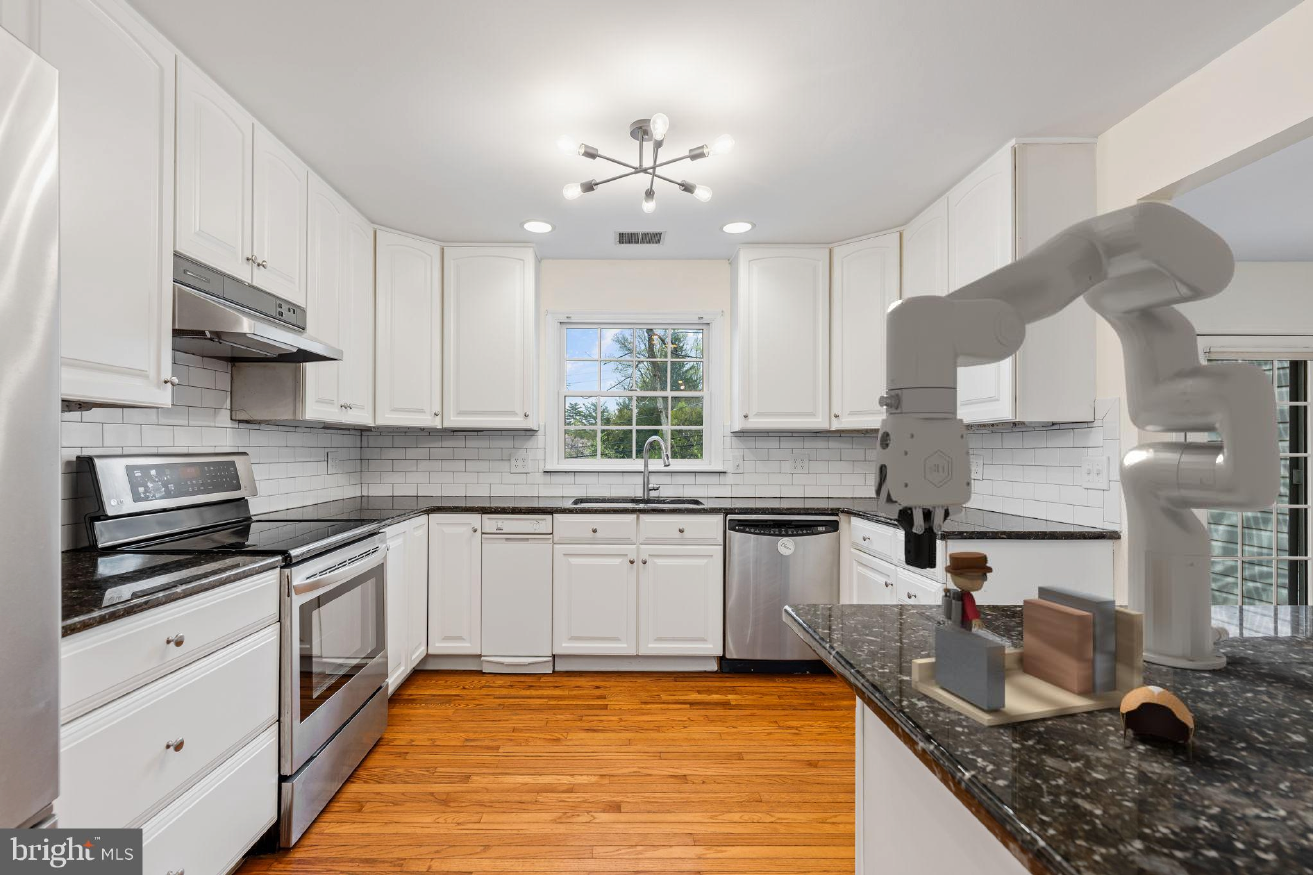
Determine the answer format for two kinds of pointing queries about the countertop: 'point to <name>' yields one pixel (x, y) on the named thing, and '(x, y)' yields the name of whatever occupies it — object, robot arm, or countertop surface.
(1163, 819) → the countertop surface
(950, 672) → the bookend
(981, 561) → the toy
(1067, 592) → the book rack
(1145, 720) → the helmet
